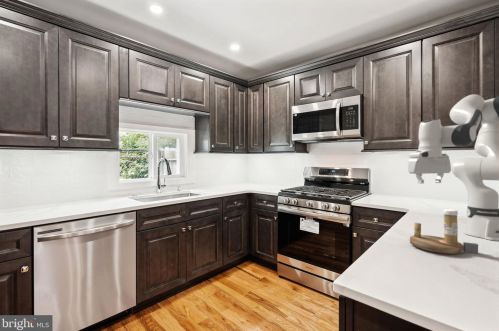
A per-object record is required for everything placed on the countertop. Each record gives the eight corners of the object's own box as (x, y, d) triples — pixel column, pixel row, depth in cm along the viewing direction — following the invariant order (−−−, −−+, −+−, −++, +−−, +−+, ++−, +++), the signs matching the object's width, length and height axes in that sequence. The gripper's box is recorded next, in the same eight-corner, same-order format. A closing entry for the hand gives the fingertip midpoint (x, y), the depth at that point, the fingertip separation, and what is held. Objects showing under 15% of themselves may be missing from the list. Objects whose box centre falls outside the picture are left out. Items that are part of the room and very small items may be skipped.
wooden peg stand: (423, 237, 117) (423, 220, 117) (471, 249, 102) (471, 229, 102) (401, 242, 109) (401, 224, 108) (450, 256, 93) (450, 235, 93)
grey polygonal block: (476, 252, 101) (476, 243, 101) (478, 253, 99) (478, 244, 99) (463, 250, 102) (463, 242, 102) (464, 252, 101) (465, 243, 101)
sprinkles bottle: (441, 240, 105) (440, 209, 105) (451, 240, 105) (450, 208, 106) (450, 244, 101) (450, 210, 101) (461, 243, 101) (460, 210, 101)
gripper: (442, 153, 121) (442, 182, 121) (405, 154, 118) (405, 183, 118) (455, 153, 115) (454, 183, 115) (416, 153, 111) (416, 184, 112)
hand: (429, 183), depth 116 cm, fingers open, 8 cm apart
